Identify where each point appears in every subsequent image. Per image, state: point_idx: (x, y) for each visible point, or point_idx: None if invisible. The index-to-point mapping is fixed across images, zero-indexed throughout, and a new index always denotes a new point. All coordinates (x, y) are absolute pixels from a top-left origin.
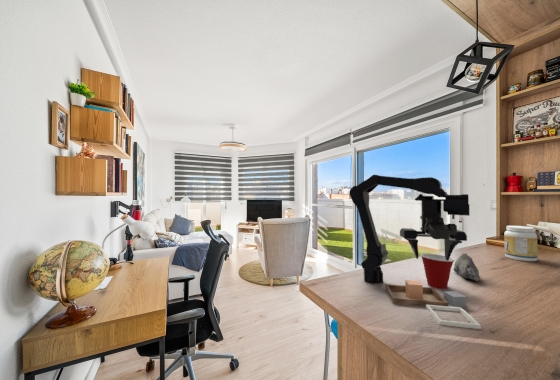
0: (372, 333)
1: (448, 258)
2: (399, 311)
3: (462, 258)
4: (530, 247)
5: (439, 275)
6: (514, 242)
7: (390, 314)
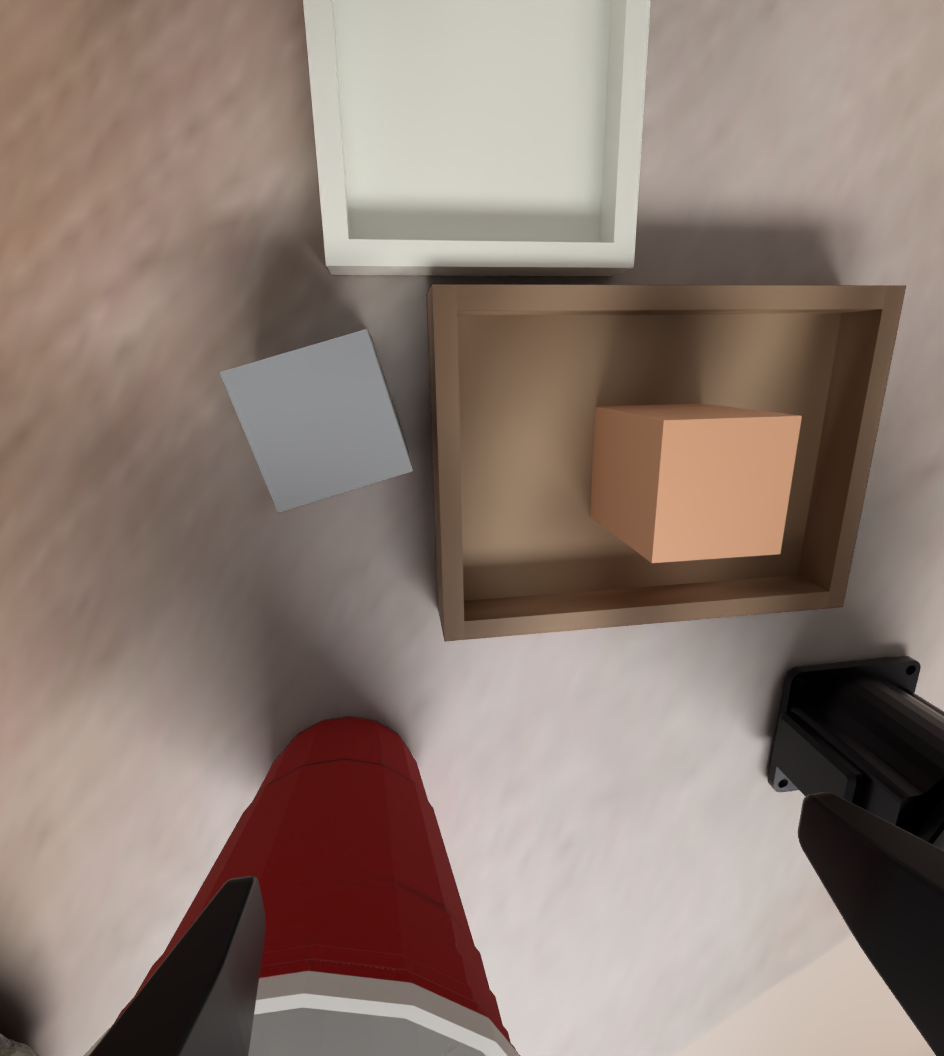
0: None
1: (215, 910)
2: (834, 196)
3: None
4: None
5: (343, 805)
6: None
7: (925, 118)
